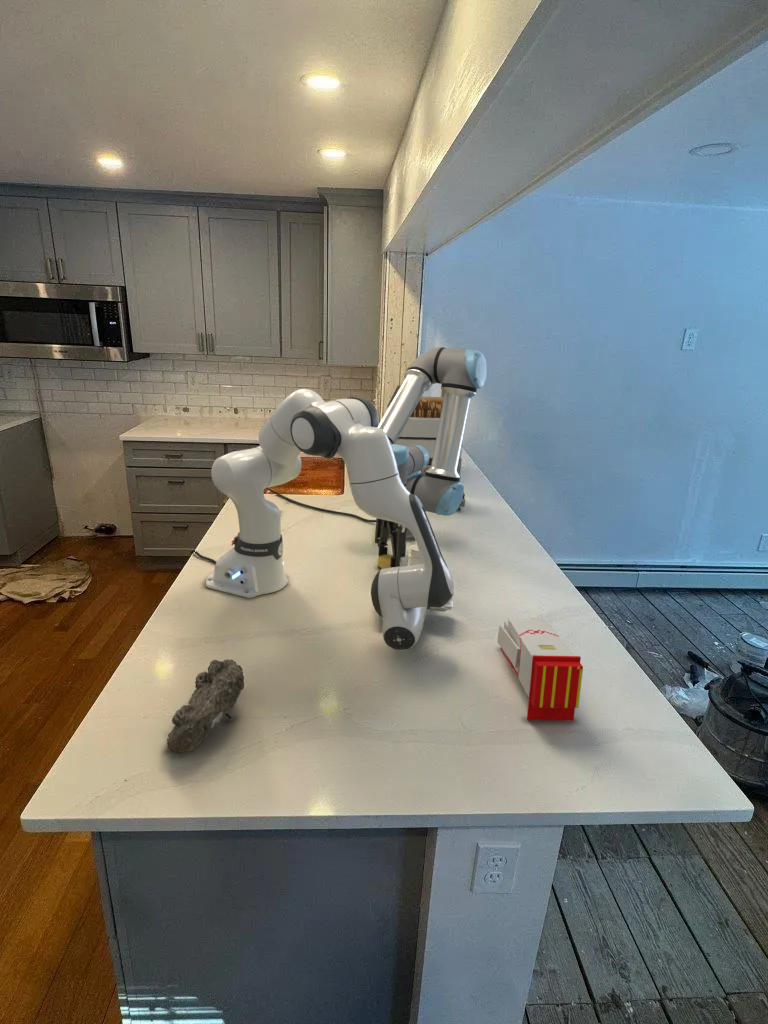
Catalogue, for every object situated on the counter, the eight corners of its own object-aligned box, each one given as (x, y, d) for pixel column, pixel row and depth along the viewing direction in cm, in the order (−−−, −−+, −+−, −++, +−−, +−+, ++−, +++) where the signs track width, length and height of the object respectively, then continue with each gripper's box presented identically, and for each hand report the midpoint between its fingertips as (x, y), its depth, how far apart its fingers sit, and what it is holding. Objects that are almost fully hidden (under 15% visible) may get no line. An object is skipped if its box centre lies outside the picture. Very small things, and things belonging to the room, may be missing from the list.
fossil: (192, 660, 117) (244, 628, 112) (224, 691, 120) (276, 661, 115) (142, 746, 98) (202, 712, 93) (182, 779, 101) (242, 748, 96)
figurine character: (465, 515, 224) (460, 499, 237) (467, 498, 221) (462, 483, 234) (448, 515, 224) (444, 499, 237) (450, 498, 220) (445, 482, 234)
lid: (381, 570, 166) (381, 563, 165) (375, 561, 172) (375, 555, 171) (401, 568, 168) (402, 561, 167) (395, 560, 174) (395, 553, 173)
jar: (415, 596, 157) (419, 541, 152) (429, 604, 153) (434, 548, 148) (400, 601, 154) (404, 546, 148) (414, 610, 150) (418, 553, 144)
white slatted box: (382, 463, 289) (386, 382, 275) (445, 464, 293) (451, 384, 279) (390, 482, 257) (394, 392, 243) (460, 483, 261) (468, 394, 247)
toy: (543, 604, 136) (592, 662, 106) (538, 656, 138) (584, 727, 109) (493, 603, 135) (528, 661, 106) (489, 655, 138) (522, 726, 109)
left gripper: (452, 599, 137) (456, 574, 149) (370, 588, 140) (380, 565, 153) (450, 622, 139) (454, 596, 152) (369, 611, 142) (379, 586, 155)
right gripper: (364, 491, 169) (361, 562, 176) (399, 511, 153) (394, 587, 161) (386, 488, 173) (382, 557, 180) (422, 507, 157) (416, 582, 165)
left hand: (417, 580), depth 152 cm, fingers closed on jar, 5 cm apart
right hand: (388, 571), depth 171 cm, fingers closed on lid, 6 cm apart
